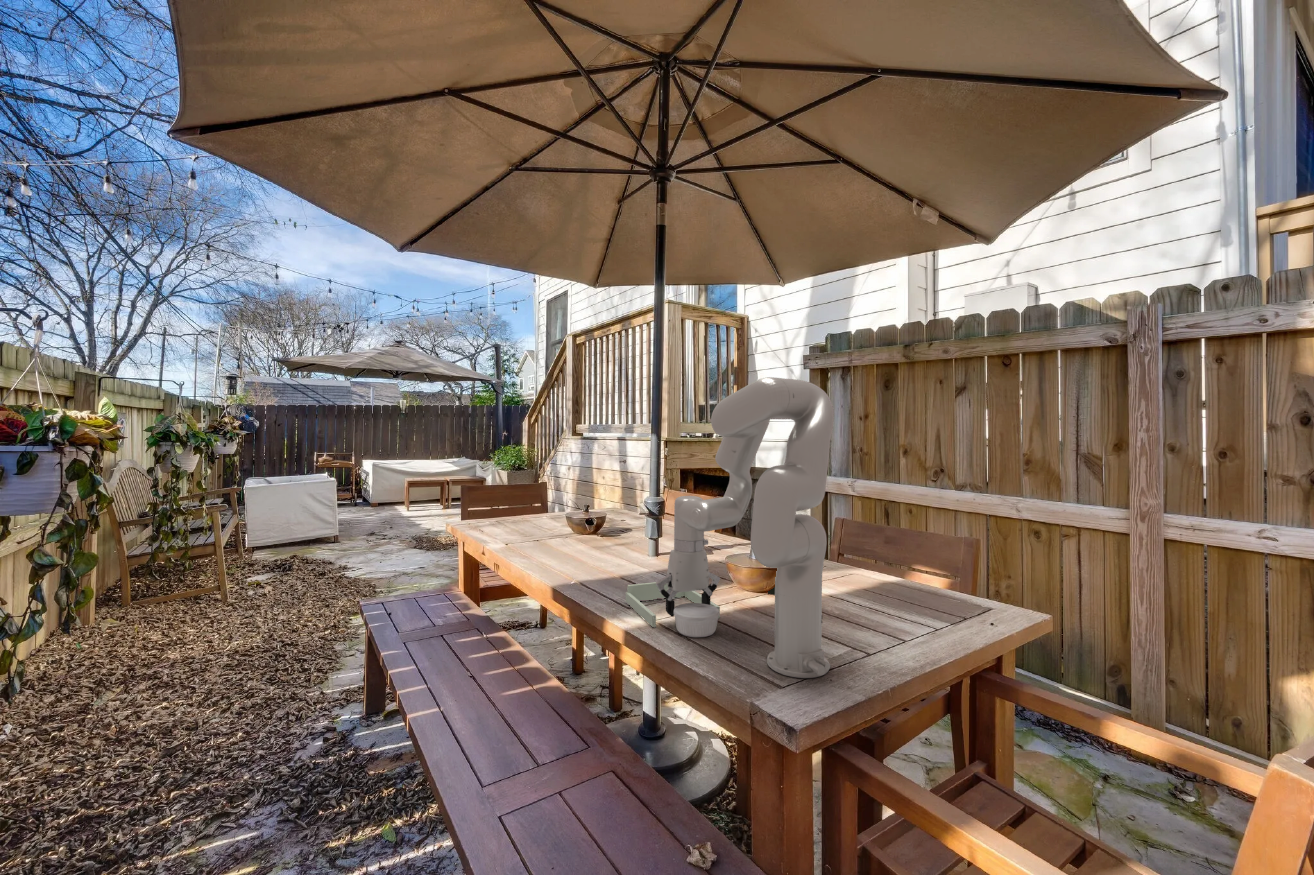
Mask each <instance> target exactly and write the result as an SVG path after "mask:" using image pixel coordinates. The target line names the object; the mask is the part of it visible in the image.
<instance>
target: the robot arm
mask: <svg viewBox="0 0 1314 875" xmlns="http://www.w3.org/2000/svg"><path fill="white" fill-rule="evenodd" d="M710 417H711V418H710V424H711V427H712V430H713V431H714V433H715V434H716V435H718V436H719V437H722V439H721V442H720V444H719V446H718V449H717V451H716V454H715V458H714V459H715V462H716V464H717V465H718V466H719V467H720V468H721V469H722V470H724V471H725V472H727V473H728V474H729V481H728V484H727V487H726V491H725V493H724V495H723V497H715V498H709V499H703V498H702V497H700V496H695V495H683V496H681V495H680V496H678V497H676V499H674V500H675V501H674V505H673V506H674V517H673V519H674V521H673V522H674V523H673V524H674V525H673V526H674V529H673V549H671V550H670V552H669V558H668V564H667V572H666V573H667V574H666V575H665V576H664V577H663V578H661V579H658V581H655V582H656V586H657V588H658V590H659V592H660V593H661V594H662V595H663V596H664V597H665V598H666V599H665V612H666V613H667V614H668V615H669V616H670V617H675V615H674V608H675V607H676V606H675V604H676V603H675V600H674V599H675V598H674V596H675V595H676V594H677V592H688V591H696V592H697V591H702V593H701V595H702V604H708V605H710V601H711V597H712V596H713V593H714V592H715V590H716V589H717V588H718V585H719V582H720V580H721V577H720V576H719V575H716V574H714V573H713V572H710V568H709V560H708V555H707V551H706V549H705V546H708V545H709V540H708V539H706V538H705V532H711V531H716V530H723V529H726V528H733V527H734V526H737V524H738V523H740V521H741V520H742V519H743V517H744V515H745V513H746V511H747V509H748V506H749V504H750V501H751V499H752V494H753V481H752V476H751V473H750V471H751V468H752V465H753V463H754V460H755V458H756V456H757V453H758V451H759V448H760V446H761V444H762V442H763V439H764V437H765V434H766V432H767V430H768V427H769V425H770V421H771V420H791V421H794V425H793V427H792V430H791V432H790V433H789V436H788V439H787V442H786V454H785V460H784V464H780V465H779V464H778V465H774V466H772V467H771V466H770V467H769V468H766V470H765V471H764V472H763V473H761V475H760V476H759V478H758V479H757V482H756V485H755V489H754V496H753V506H752V518H751V527H750V528H751V529H750V546H751V550H752V553H753V555H754V557H755V559H756V560H757V561H758V563H760V564H761V566H763V565H764V566H766V567H770V568H777V571H776V577H775V595H774V650H773V651H770V652H769V653H768V654H767V657H766V663H767V666H768V667H769V668H771V669H772V670H773V671H775V672H776V673H779V674H780V675H784V676H786V677H791V678H796V679H797V678H798V679H800V678H801V679H812V678H818V677H819V678H820V677H822V676H824V675H826V674H827V673H828V672H829V670H830V669H831V666H832V665H831V663H830V662H829V660H828V659H827V657H825V651H824V650H823V649H822V638H823V636H822V634H823V633H822V630H823V629H822V625H823V613H822V612H823V611H822V610H823V608H822V607H823V606H822V604H823V603H822V602H823V600H822V598H823V597H822V596H823V595H822V593H823V572H824V571H823V569H824V562H825V557H826V551H827V533H826V530H825V527H824V525H823V524H822V523H821V522H820V521H819V520H818V519H817V518H815V517H814V516H812V515H809V514H804V513H803V514H802V513H800V514H799V513H797V512H800V511H802V512H803V511H807V510H809V509H814V508H816V507H818V506H819V505H821V503H822V502H823V500H824V498H825V495H826V487H827V486H826V485H827V480H828V479H827V477H828V468H829V461H830V449H831V448H830V446H831V440H832V433H833V427H834V420H835V418H834V417H835V413H834V406H833V403H832V401H831V399H830V397H829V395H828V394H827V393H826V391H825V390H823V389H822V388H821V387H820V386H818V385H816V384H814V383H812V382H809V381H806V380H802V379H794V378H782V377H772V376H769V377H763V378H759V379H757V380H755V381H753V382H751V383H749V384H748V385H745V386H744V387H742V388H740V389H738V390H737V391H735V392H733V393H731V394H729V395H727V396H726V397H725V398H723V399H721V400H720V401H719V402H718V404H716V406H715V407H714V409H713V411H712V413H711V416H710ZM710 579H711V582H710ZM665 584H667V586H668V587H669V588H668V590H667V591H665V589H664V585H665Z"/></svg>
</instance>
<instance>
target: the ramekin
mask: <svg viewBox="0 0 1314 875" xmlns="http://www.w3.org/2000/svg"><path fill="white" fill-rule="evenodd" d="M718 616H719V610H718V609H717V608H716V607H714V606H711V605H708V604H702V603H693V602H689V603H681V604H678V605H676V606H675V608H674V620H675V626H676V627H675V628H676V630H677V631H678V633H679V634H681V635H683V636H686V637H689V638H705V637H709V636H712V635H713V634H714V633H715V632H716V630H717V625H718V621H719V620H718V619H719V618H718Z"/></svg>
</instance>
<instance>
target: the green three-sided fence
mask: <svg viewBox="0 0 1314 875" xmlns="http://www.w3.org/2000/svg"><path fill="white" fill-rule="evenodd" d="M656 582H657V581H653V582H647V583H646V582H644V583H635V584H628V585H627V584H626V591H625V603H626V602H627V603H628V604H629V605H630V606H631V607H632V608H633V609H634V610H635V611H636V612H637V613H638V614H639V615H640V616H642V617H643V618H644V619H645V620H646V621H647V622H648V623H649V624H650V625H651V626H652V627H654V628H656V627H657V615H656V614H655V613H654V612H653V611H652V610H651V609H650V608H648V606H646V605H644V604H643V602H640V600H653V599H657V598H665V597H664V596H663V595H662V594H661V593H660V592H659V590H658V588H657V586H656ZM668 588H669V587H668V586H667V584H665V585H664V589H665V591H667V590H668ZM681 596H685V597H684V598H686V597H687V598H688V599H687V598H686V599H687V600H689V601H690V600H691V601H692V602H691V601H690V602H691V603H693V602H694V603H702V593H699V592H697V591H688V592H677V594H676V595H675V596H674V597H679V598H682V597H681ZM710 605H711V606H714V607H716V608H717V609H718V610H719V616H718V619H720V618H721V616H720V615H721V611H720V610H721V609H720V608H721V607H720V605H718V604H716V603H714V602H713V601H712V600H710ZM632 608H631V609H632ZM633 609H632V610H633ZM634 610H633V611H634ZM635 611H634V612H635ZM636 612H635V613H636ZM637 613H636V614H637ZM638 614H637V615H638ZM639 615H638V616H639ZM640 616H639V617H640ZM647 622H646V623H647ZM648 623H647V624H648ZM649 624H648V625H649ZM650 625H649V626H650ZM651 626H650V627H651ZM652 627H651V628H652Z"/></svg>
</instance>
